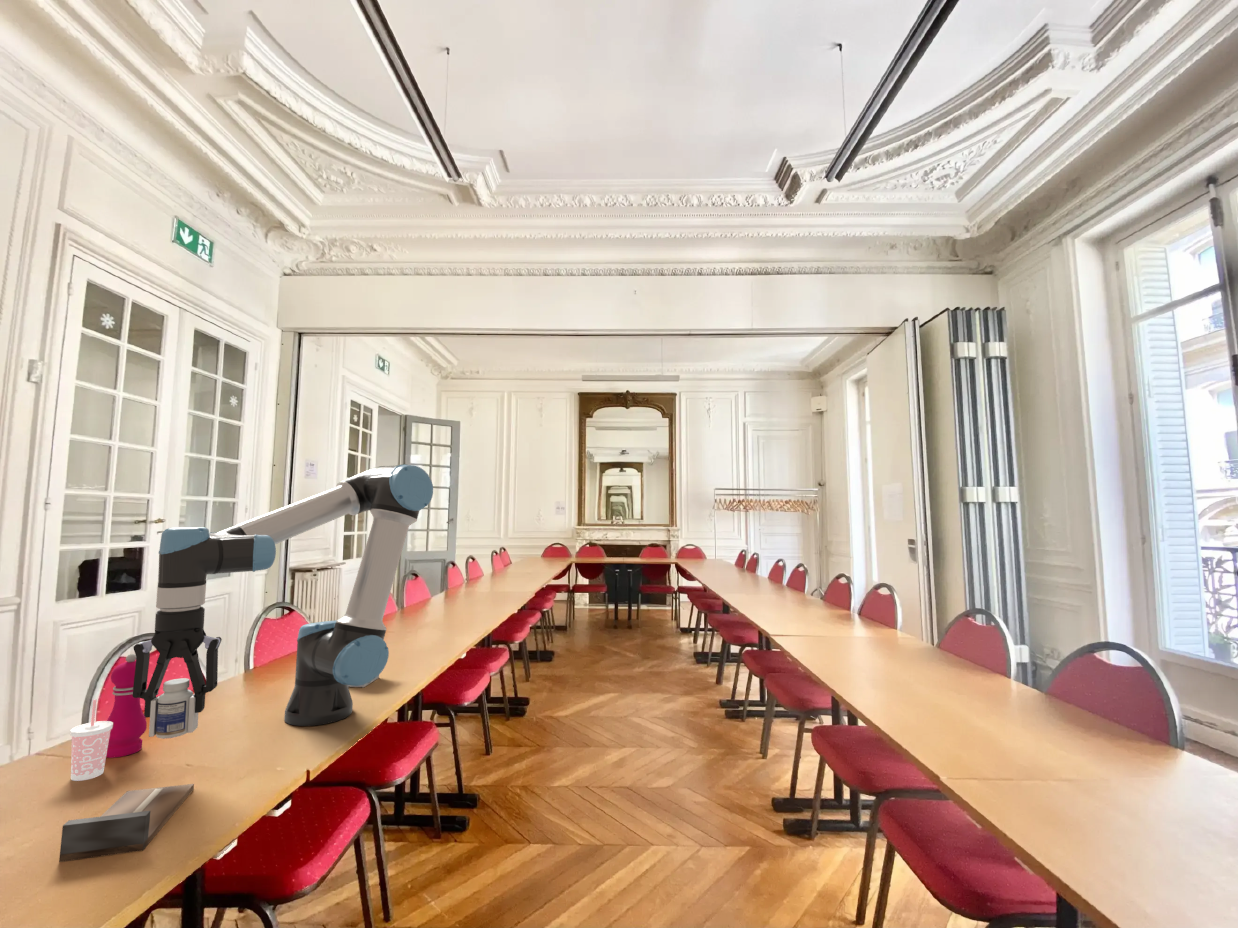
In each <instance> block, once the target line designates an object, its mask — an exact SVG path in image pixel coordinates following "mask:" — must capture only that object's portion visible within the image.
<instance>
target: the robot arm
mask: <svg viewBox="0 0 1238 928" xmlns="http://www.w3.org/2000/svg"><path fill="white" fill-rule="evenodd" d="M433 495H434V484H433V481H432V479H431V478H430V475H429V474H428V473H427V472H426V470H424V469H423V468H422V467H419V466H418V465H414V464H397V465H383V466H382V465H381V466H376V467H373V468H370V469H367V470H365V471H362V472H361V473H358V474H356V475H353V476H351V477H348V478H347V479H343V480H340V481H338V483H337V484H336V487H334V488H331V489H328V490H325V491H322V492H320V493H318V494H315V495H311V496H310V497H307V498H304V499H301V500H299V501H296V502H294V503H291V504H288V505H286V506H283V507H280V508H278V509H275V510H273V511H270V512H267V513H265V514H262V515H260V516H256V517H254V518H252V519H251V518H250V519H249V520H246V521H243V522H241V523H238V524H236V525H233V526H231V527H228V528H225V529H222V530H220V531H212V532H210V530H209V528H207V527H204V526H201V527H200V526H197V527H196V526H194V527H193V526H192V527H191V526H190V527H189V526H188V527H187V526H185V527H184V526H183V527H181V526H179V527H168V528H166V529H164V530H163V531H162V532H161V536H160V542H159V543H160V544H159V550H158V575H157V577H158V581H157V587H156V589H157V590H156V591H157V592H156V602H155V607H156V608H157V609H158V610H157V611H156V612H155V621H154V623H155V624H154V633H153V634H154V635H153V636H152V637H151V639H149V640H146V641H144V640H143V641H140V642H139V643H136V644H134V645H133V651H134V654H135V655H136V660H135V661H136V666H135V676H134V685H133V697H134V698H140V699H142V700H143V701H144V708H143V709H144V712H143V714H144V716H145V718H149V727H148V729H149V730H148V738H150V737H151V738H153V737H155V736H156V721H157V703H158V698H159V696H160V695H159V694H160V693H159V690H160V689H161V685H162V682H163V680H164V676H165V675H166V672H167V669H168V666H169V664H170V662H171V660H172V659H175V658H178V659H183V662H184V663H185V664H186V668H187V671H188V676H189V680H190V682H191V686H192V689H193V695H192V696H191V697H190V700H189V718H188V733H187V734H191V733H194V732H195V731H196V730H197V728H199V727H198V726H199V714H200V713H202V712H203V711H204V710H205V708H206V706H205V705H206V693H211V692H213V690H214V689H216V688H217V687H218V680H219V679H218V667H219V666H218V665H219V660H218V659H219V658H218V656H219V647H220V645H221V644H222V640H223V639H222V638H221V637H220V636H217V637H213V636H209V635H207V634H206V631H205V629H204V626H205V610H206V609H205V608H204V607H203V605H205V603H206V591H207V576H208V575H216V574H217V575H218V574H228V573H229V574H230V573H245V572H253V573H254V572H258V571H263V570H268V569H270V568H271V567H272V566H273V564H274V563H275V560H276V555H277V552H276V551H277V548H276V545H277V544H279V543H282V542H284V541H286V540H287V541H288V540H289V539H291V538H294V537H297V536H299V535H301V534H304V533H305V532H308V531H310V530H313V529H316V528H318V527H320V526H323V525H325V524H328V523H329V522H332V521H335V520H336V519H339V518H342V517H343V516H347V515H351V516H356V515H358V514H361V513H363V512H370V513H371V515H372V517H373V521H372V525H371V527H370V530H369V534H368V537H367V542H366V543H365V548H364V551H363V554H362V557H361V561H360V565H359V567H358V571H357V574H356V578H355V582H354V584H353V586H352V590H351V595H350V598H349V601H348V604H347V607H346V611H345V614H344V615H343V616H342V617H340V618H338V619H337V620H336V619H335V620H327V621H325V620H324V621H317V622H311V623H306V624H303V625H301V627H300V628H299V630H298V634H297V638H296V641H297V645H296V659H295V660H296V662H295V676H294V677H295V678H294V688H293V690H292V692H291V694H290V697H289V699H288V701H287V704H286V707H285V710H284V717H283V719H284V723H286V724H288V725H291V726H292V725H293V726H297V727H301V726H302V727H309V726H312V727H313V726H319V725H327V724H330V723H331V724H332V723H334V722H335V723H336V722H338V721H341V720H344V719H345V718H347V717H349V716H350V715H351V714H352V713H353V706H354V705H353V704H354V702H353V699H352V696H351V692H350V687H348V685H352V686H360V685H364V684H367V683H369V682H371V681H372V680H373V679H374V678H376V677H377V676H378V675H379V676H380V674H381V673H382V672H383V671H384V669H385V668H386V665H387V663H388V660H389V655H390V653H389V647H388V645H387V642H386V641H385V640H384V639H385V637H386V634H387V633H386V632H387V627H386V625H385V623H384V621H383V619H384V615H385V613H386V610H387V609H386V608H387V605H388V602H389V598H390V594H391V590H392V587H393V584H394V580H395V576H396V573H397V569H398V566H399V563H400V559H401V555H402V553H403V549H404V545H405V541H406V537H407V534H408V530H409V527H410V526H411V525H413V524H414V523H416V522H417V521H418V518H419V514H420V511H421V510H424V509H425V508H426V507H428V506H429V504H430V503H431V501H432V498H433ZM203 643H204V648H205V649H207V650H206V658H205V662H206V663H205V677H204V675H203V670H202V667H201V663H200V660H199V653H198V648H199V647H200V646H201V645H202V644H203ZM153 647H154V648H155V649H156V651H157V652H158V653H159V655H158V657H157V660H156V664H155V665H156V666H155V668H154V670H153V672H152V676H151V677H150V681H149V683H148V676H149V667H150V657H151V653H150V652H151V651H152V650H153ZM147 685H148V686H147Z"/></svg>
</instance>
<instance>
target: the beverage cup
mask: <svg viewBox="0 0 1238 928" xmlns="http://www.w3.org/2000/svg"><path fill="white" fill-rule="evenodd" d="M96 708H97V699H96V698H94V699H93V700H92V710H91V719H90V722H87V723H83V724H78V725H76V726H74V727H72V728H71V729H70V730H69V735H70V736H71V749H70V750H71V751H70V752H71V756H70V758H71V759H70V760H71V761H70V780H71V781H75V782H77V781H78V782H79V781H80V782H81V781H87V780H92V779H94V778H96V777H100V776H101V775H103V774H104V770H105V765H106V758H107V757H106V754H107V748H108V743H109V737H110V731H111V729H112V727H113V722H111V721H107V720H100V721H98V720H97V721H95V718H96V710H97V709H96Z"/></svg>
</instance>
